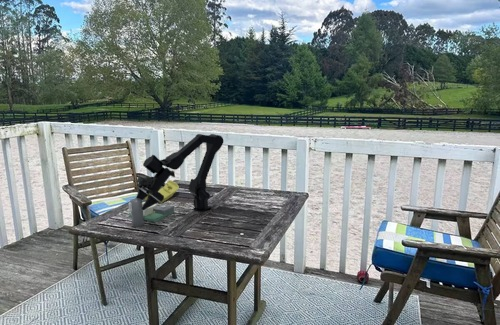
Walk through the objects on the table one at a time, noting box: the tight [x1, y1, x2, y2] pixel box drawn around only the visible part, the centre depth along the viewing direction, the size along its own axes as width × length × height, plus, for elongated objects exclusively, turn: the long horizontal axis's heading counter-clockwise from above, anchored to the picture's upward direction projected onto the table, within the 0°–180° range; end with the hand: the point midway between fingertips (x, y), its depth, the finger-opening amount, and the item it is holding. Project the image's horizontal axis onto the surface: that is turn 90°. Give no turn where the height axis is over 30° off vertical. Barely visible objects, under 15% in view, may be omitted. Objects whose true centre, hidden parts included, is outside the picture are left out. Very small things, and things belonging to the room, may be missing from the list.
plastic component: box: [144, 179, 180, 204], centre depth 206 cm, size 20×7×10 cm
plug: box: [128, 197, 145, 228], centre depth 166 cm, size 6×5×12 cm
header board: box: [128, 201, 175, 223], centre depth 180 cm, size 16×14×4 cm
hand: (138, 206), depth 166 cm, fingers open, 9 cm apart
